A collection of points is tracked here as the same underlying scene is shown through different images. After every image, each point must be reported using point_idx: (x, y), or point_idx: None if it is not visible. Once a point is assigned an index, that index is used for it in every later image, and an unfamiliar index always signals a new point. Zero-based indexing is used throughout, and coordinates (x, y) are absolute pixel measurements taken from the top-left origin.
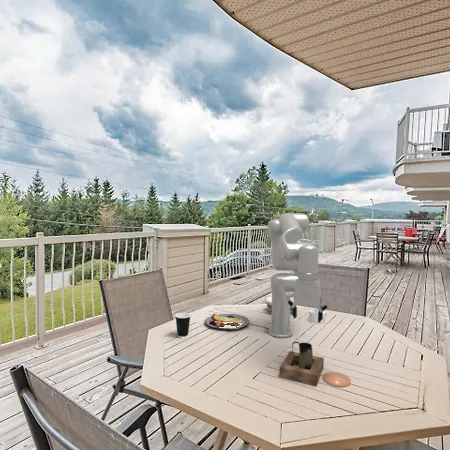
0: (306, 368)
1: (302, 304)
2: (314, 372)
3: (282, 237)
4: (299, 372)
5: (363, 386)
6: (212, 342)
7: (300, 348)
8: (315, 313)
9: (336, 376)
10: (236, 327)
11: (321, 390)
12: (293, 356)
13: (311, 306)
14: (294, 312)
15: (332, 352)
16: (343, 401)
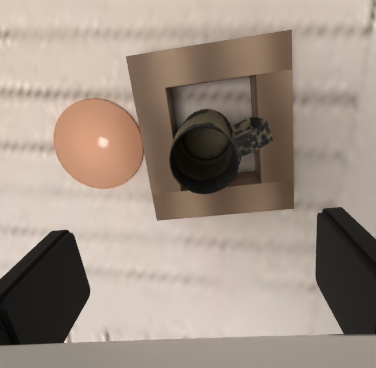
0: (191, 116)
1: (245, 360)
2: (143, 77)
3: None
4: (198, 45)
5: (22, 153)
6: None
7: (221, 130)
8: None
9: (102, 159)
10: None
11: (114, 42)
12: (252, 117)
13: (5, 346)
14: (361, 245)
15: (172, 315)
16: (31, 15)
